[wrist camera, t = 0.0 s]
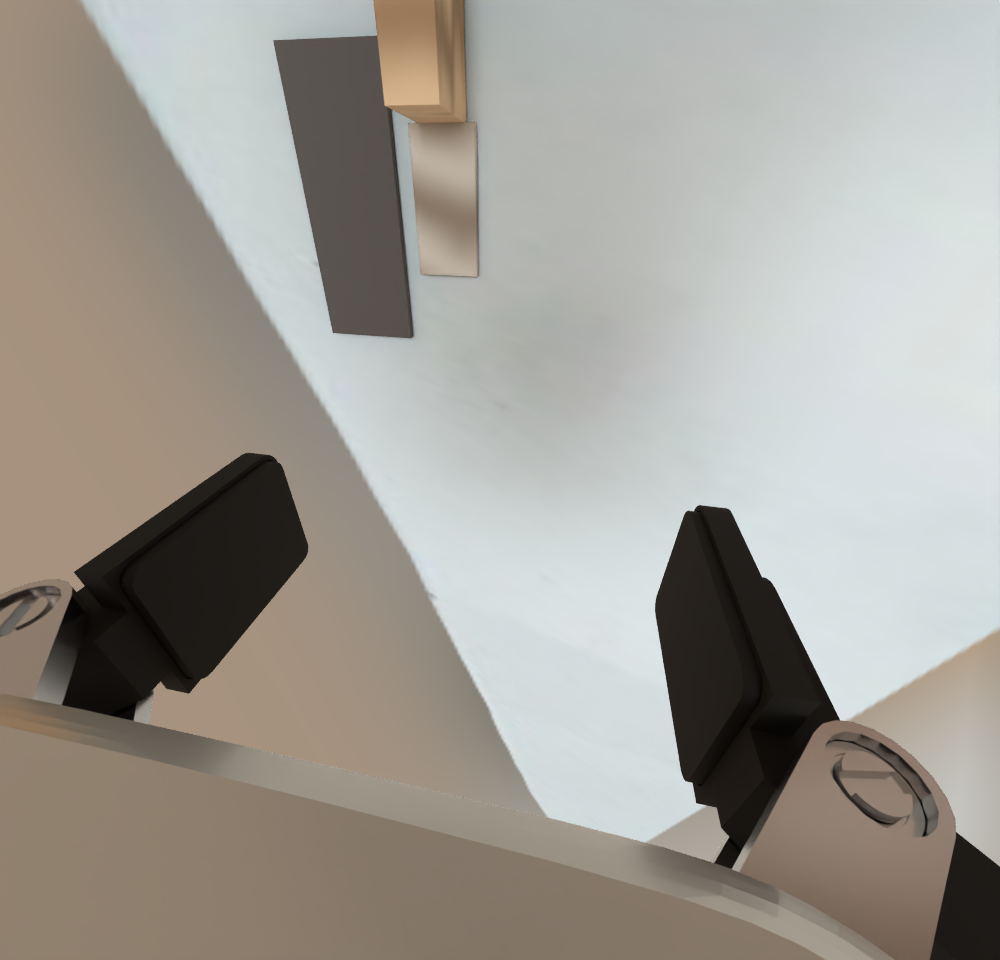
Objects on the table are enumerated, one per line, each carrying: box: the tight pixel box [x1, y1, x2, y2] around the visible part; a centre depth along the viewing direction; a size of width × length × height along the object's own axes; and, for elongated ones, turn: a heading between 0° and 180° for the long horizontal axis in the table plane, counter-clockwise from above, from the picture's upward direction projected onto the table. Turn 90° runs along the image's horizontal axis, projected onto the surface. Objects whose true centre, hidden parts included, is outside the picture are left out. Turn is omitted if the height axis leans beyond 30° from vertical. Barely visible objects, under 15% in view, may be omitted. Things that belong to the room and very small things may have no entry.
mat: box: [274, 36, 413, 338], centre depth 34 cm, size 20×8×1 cm, turn 179°
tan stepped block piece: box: [374, 0, 478, 277], centre depth 28 cm, size 17×5×6 cm, turn 179°
